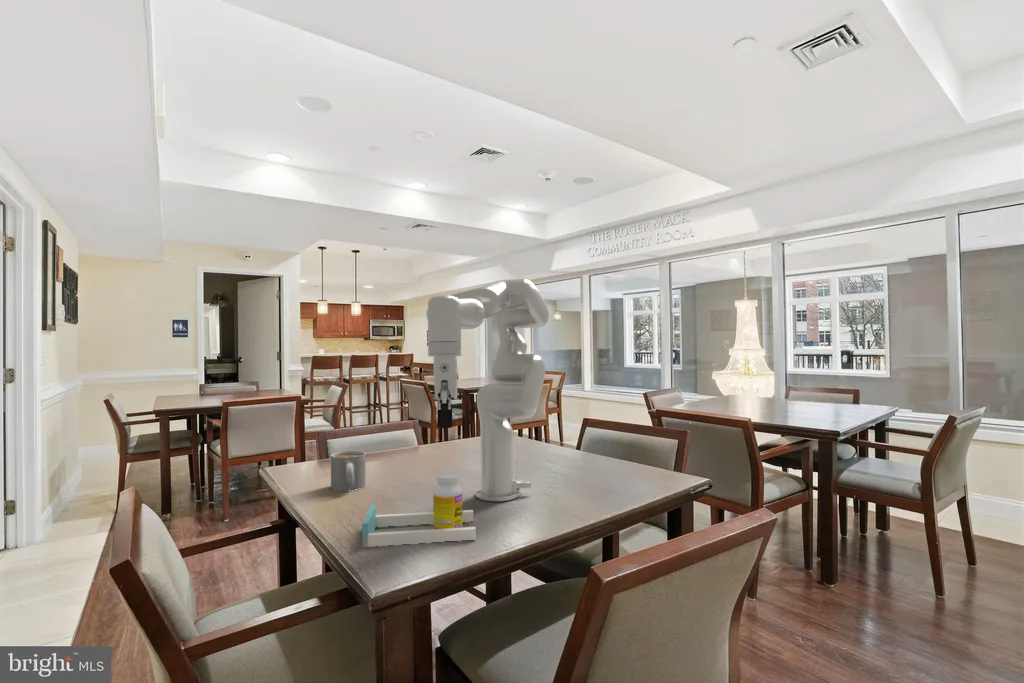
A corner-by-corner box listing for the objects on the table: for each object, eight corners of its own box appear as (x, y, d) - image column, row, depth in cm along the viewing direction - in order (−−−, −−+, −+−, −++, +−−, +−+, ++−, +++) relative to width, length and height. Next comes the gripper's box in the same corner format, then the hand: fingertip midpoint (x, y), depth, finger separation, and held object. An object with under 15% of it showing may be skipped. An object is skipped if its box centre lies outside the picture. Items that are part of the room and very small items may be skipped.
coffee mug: (334, 483, 151) (334, 451, 151) (367, 481, 153) (367, 449, 153) (325, 496, 138) (325, 461, 138) (361, 494, 140) (361, 459, 140)
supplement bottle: (457, 538, 107) (456, 479, 107) (429, 536, 108) (428, 478, 108) (466, 527, 113) (465, 472, 113) (439, 525, 115) (439, 470, 115)
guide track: (472, 520, 118) (472, 499, 118) (475, 540, 105) (475, 517, 105) (371, 526, 114) (371, 504, 114) (362, 547, 102) (362, 523, 102)
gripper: (461, 350, 103) (462, 430, 103) (460, 349, 120) (461, 418, 120) (425, 350, 102) (426, 431, 102) (430, 350, 120) (430, 419, 119)
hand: (445, 424), depth 111 cm, fingers open, 9 cm apart
